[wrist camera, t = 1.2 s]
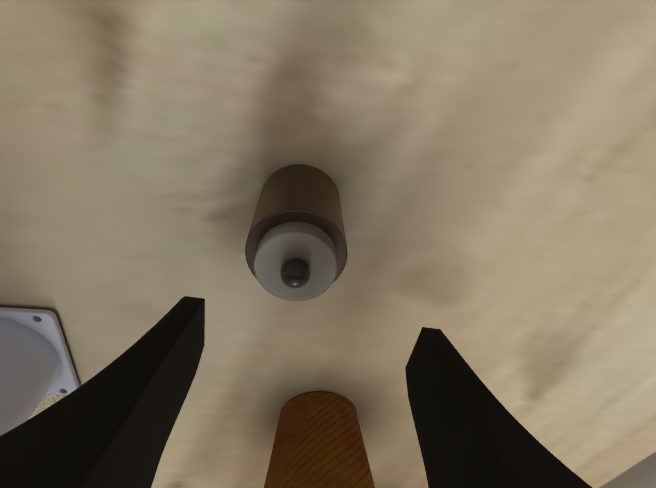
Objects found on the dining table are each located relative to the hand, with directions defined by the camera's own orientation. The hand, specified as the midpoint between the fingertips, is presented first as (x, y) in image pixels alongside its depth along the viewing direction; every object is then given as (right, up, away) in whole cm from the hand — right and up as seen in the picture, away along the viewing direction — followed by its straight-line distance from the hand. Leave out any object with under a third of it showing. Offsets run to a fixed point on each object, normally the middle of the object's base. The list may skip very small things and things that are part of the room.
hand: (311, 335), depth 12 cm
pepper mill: (-1, +5, +9) cm, 10 cm away
